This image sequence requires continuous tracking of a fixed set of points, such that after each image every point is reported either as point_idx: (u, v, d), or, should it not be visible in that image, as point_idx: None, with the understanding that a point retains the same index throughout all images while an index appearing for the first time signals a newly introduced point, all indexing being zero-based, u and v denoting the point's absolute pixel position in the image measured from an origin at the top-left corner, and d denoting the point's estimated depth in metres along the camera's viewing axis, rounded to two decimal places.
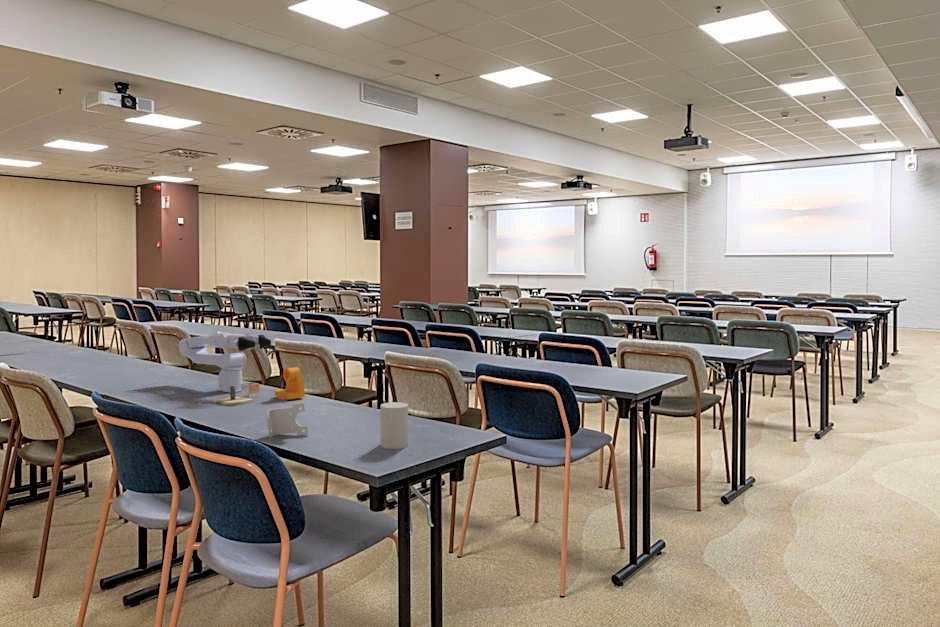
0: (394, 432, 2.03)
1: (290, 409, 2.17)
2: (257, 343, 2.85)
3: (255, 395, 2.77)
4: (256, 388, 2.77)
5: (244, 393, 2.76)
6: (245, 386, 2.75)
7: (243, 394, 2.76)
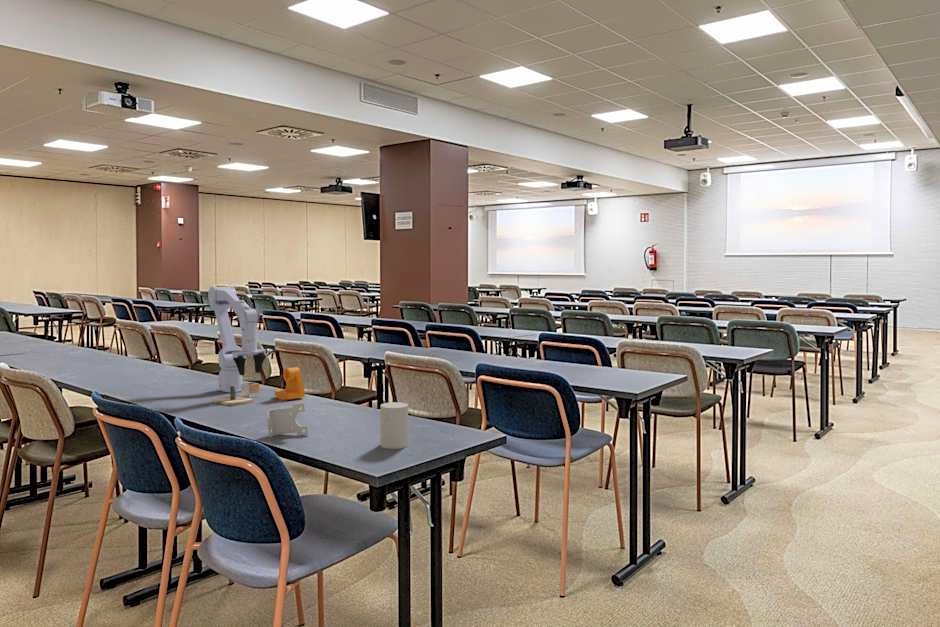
0: (394, 432, 2.03)
1: (290, 409, 2.17)
2: None
3: (255, 395, 2.77)
4: (256, 388, 2.77)
5: (244, 393, 2.76)
6: (245, 386, 2.75)
7: (243, 394, 2.76)
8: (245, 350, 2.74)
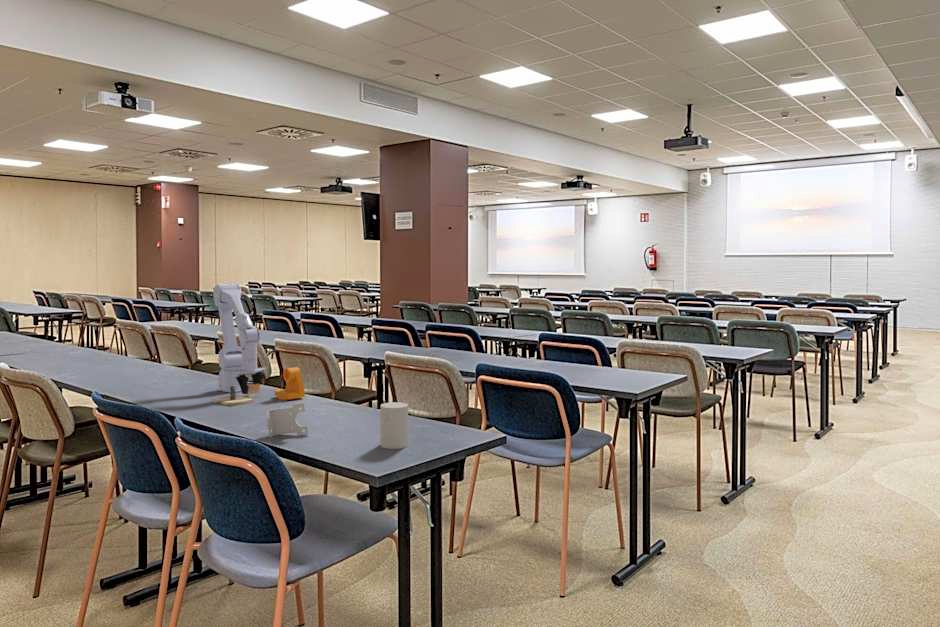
0: (394, 432, 2.03)
1: (290, 409, 2.17)
2: None
3: (255, 395, 2.77)
4: (256, 388, 2.77)
5: None
6: None
7: (243, 394, 2.76)
8: (245, 369, 2.74)
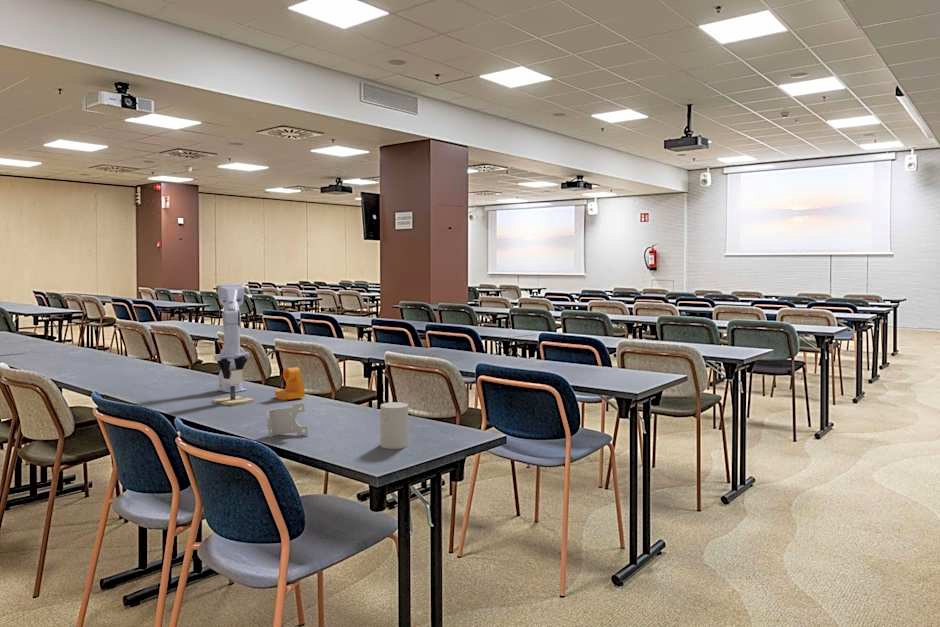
0: (394, 432, 2.03)
1: (290, 409, 2.17)
2: None
3: (238, 381, 2.65)
4: (239, 374, 2.65)
5: (226, 379, 2.64)
6: None
7: (225, 381, 2.65)
8: (227, 353, 2.63)
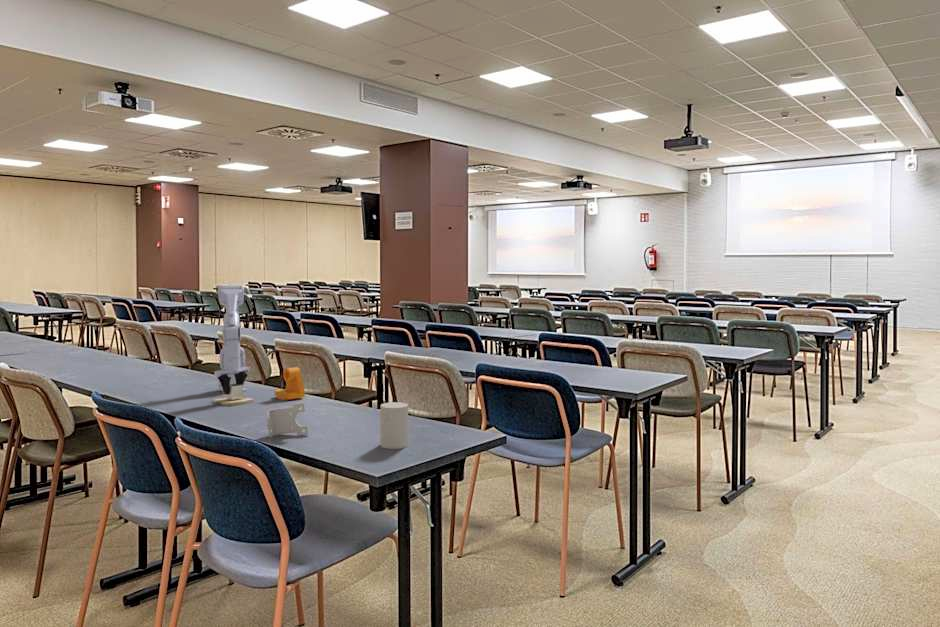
0: (394, 432, 2.03)
1: (290, 409, 2.17)
2: None
3: (238, 397, 2.65)
4: (239, 389, 2.66)
5: (227, 395, 2.65)
6: None
7: (226, 396, 2.65)
8: (228, 369, 2.63)
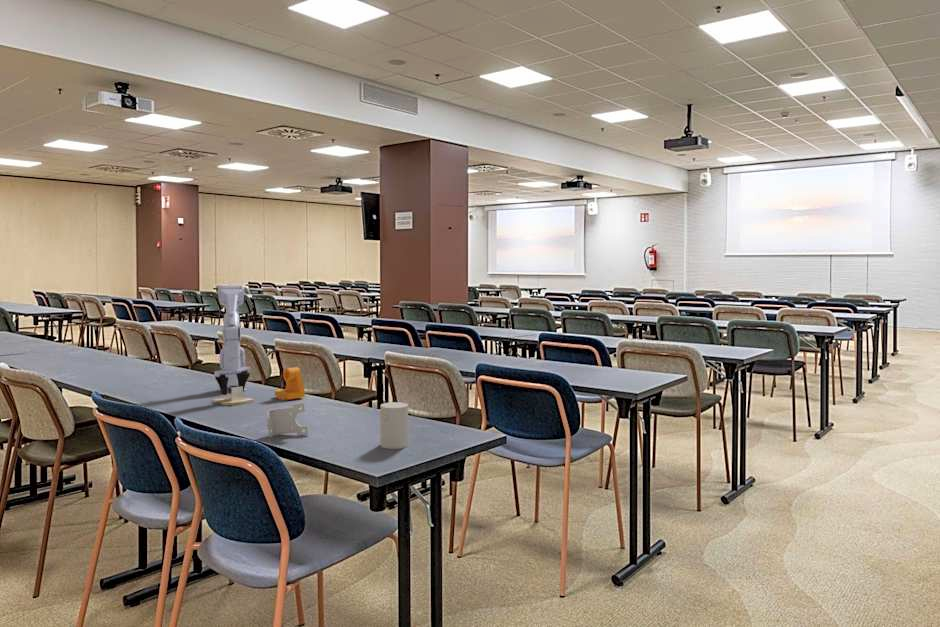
0: (394, 432, 2.03)
1: (290, 409, 2.17)
2: None
3: (238, 398, 2.65)
4: (239, 391, 2.66)
5: (227, 396, 2.65)
6: (228, 389, 2.64)
7: (226, 397, 2.65)
8: (228, 369, 2.63)
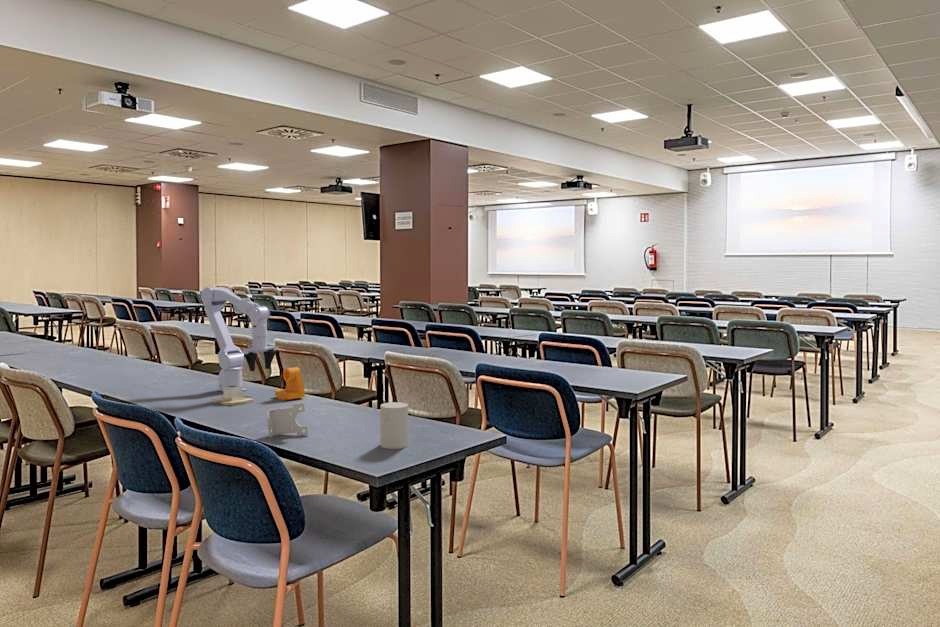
0: (394, 432, 2.03)
1: (290, 409, 2.17)
2: None
3: (238, 398, 2.65)
4: (239, 391, 2.66)
5: (227, 396, 2.65)
6: (228, 389, 2.64)
7: (226, 397, 2.65)
8: (255, 346, 2.78)
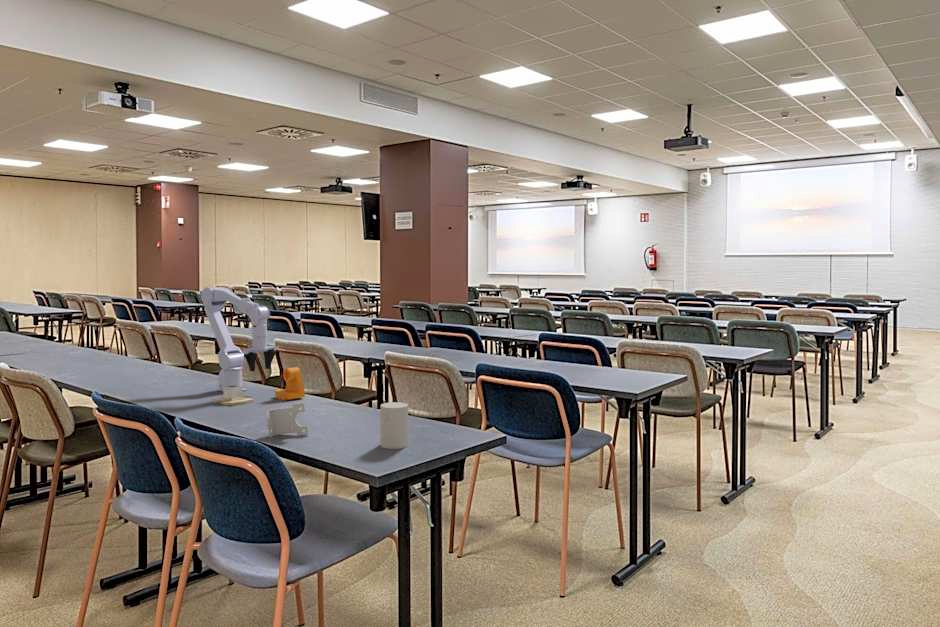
0: (394, 432, 2.03)
1: (290, 409, 2.17)
2: None
3: (238, 398, 2.65)
4: (239, 391, 2.66)
5: (227, 396, 2.65)
6: (228, 389, 2.64)
7: (226, 397, 2.65)
8: (255, 346, 2.78)
